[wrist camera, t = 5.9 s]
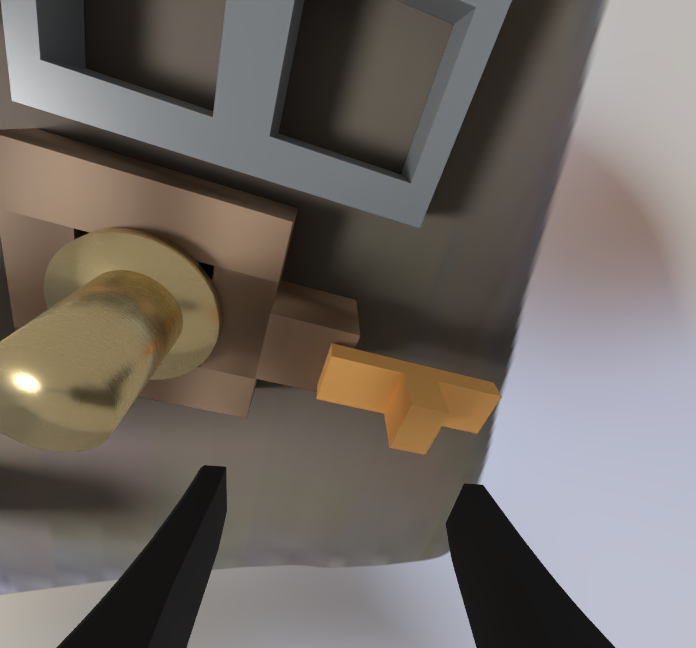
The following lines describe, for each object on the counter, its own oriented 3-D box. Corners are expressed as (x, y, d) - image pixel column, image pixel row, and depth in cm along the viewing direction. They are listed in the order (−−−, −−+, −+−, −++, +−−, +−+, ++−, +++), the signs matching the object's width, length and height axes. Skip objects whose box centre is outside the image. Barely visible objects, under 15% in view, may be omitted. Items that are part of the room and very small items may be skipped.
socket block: (54, 345, 20) (3, 387, 17) (35, 128, 15) (-44, 131, 12) (319, 402, 23) (317, 448, 20) (379, 233, 18) (389, 258, 14)
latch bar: (317, 384, 17) (314, 432, 15) (331, 342, 16) (331, 387, 14) (470, 418, 19) (492, 468, 16) (493, 382, 18) (521, 429, 15)
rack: (59, 102, 15) (11, 100, 12) (40, -223, 11) (-35, -309, 9) (409, 213, 17) (419, 228, 15) (497, -16, 13) (528, -42, 11)
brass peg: (93, 323, 20) (-68, 462, 12) (89, 192, 16) (-136, 262, 9) (226, 353, 21) (160, 498, 13) (247, 236, 18) (176, 334, 10)
